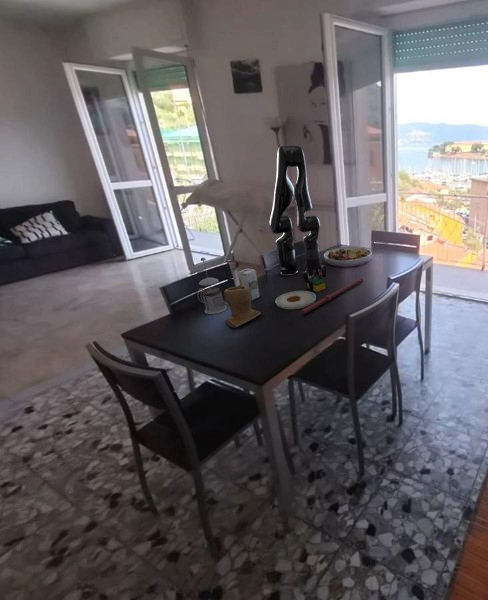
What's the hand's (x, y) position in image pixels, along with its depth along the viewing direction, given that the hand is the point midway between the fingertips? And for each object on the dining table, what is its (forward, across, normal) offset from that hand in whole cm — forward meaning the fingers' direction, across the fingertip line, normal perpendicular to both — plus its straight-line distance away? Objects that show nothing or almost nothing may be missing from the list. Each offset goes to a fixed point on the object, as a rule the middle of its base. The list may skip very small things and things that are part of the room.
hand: (316, 287), depth 185 cm
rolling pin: (+1, +1, +17) cm, 17 cm away
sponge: (0, 0, 0) cm, 0 cm away
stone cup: (+1, +43, +4) cm, 43 cm away
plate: (0, +16, +5) cm, 17 cm away
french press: (+1, +46, -16) cm, 49 cm away
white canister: (+1, +28, -15) cm, 32 cm away
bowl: (+1, -41, -21) cm, 46 cm away
